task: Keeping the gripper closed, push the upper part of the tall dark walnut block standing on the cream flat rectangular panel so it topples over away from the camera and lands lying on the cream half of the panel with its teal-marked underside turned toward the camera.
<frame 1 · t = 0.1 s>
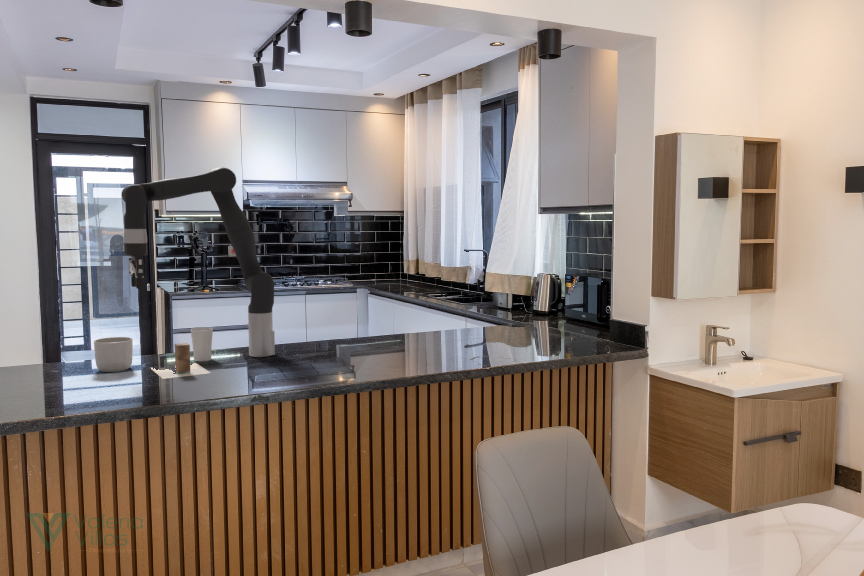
hand: (137, 287, 236), 29 cm above the counter, fingers open, 8 cm apart
planter: (114, 370, 236), on the counter
cream flat rectangular panel: (180, 370, 236), on the counter
cup: (202, 360, 255), on the counter
walnut block: (183, 372, 232), resting on cream flat rectangular panel
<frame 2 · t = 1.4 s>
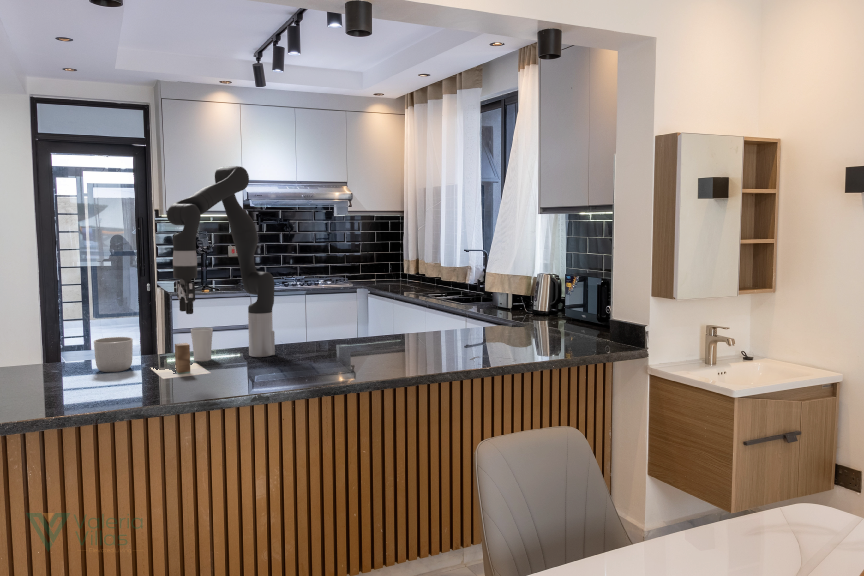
hand: (186, 312, 223), 22 cm above the counter, fingers open, 8 cm apart
nothing on the counter moved.
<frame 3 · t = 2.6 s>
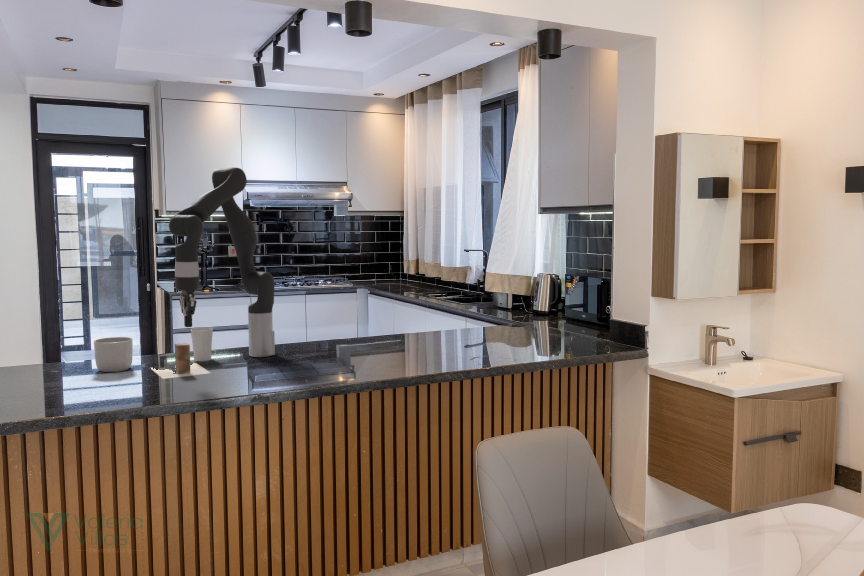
hand: (188, 326, 223), 18 cm above the counter, fingers closed
nothing on the counter moved.
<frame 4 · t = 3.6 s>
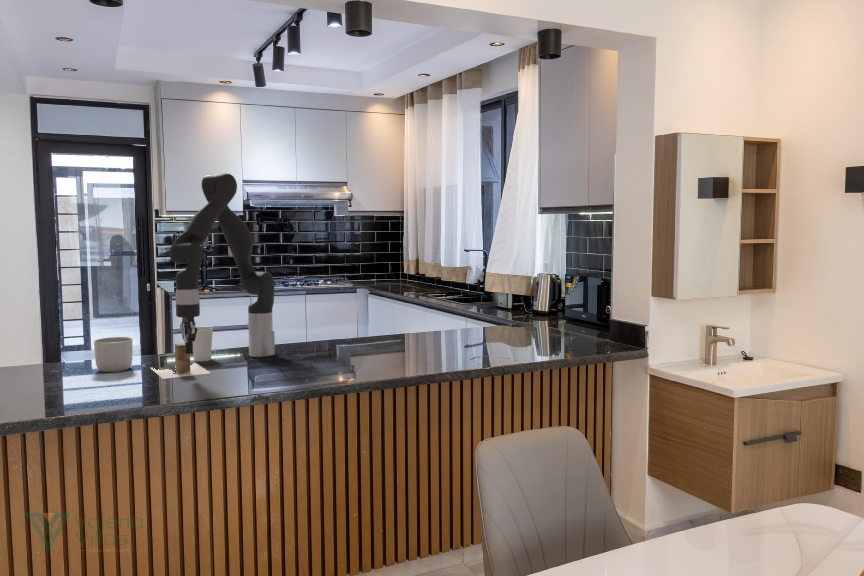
hand: (189, 353, 224), 9 cm above the counter, fingers closed
nothing on the counter moved.
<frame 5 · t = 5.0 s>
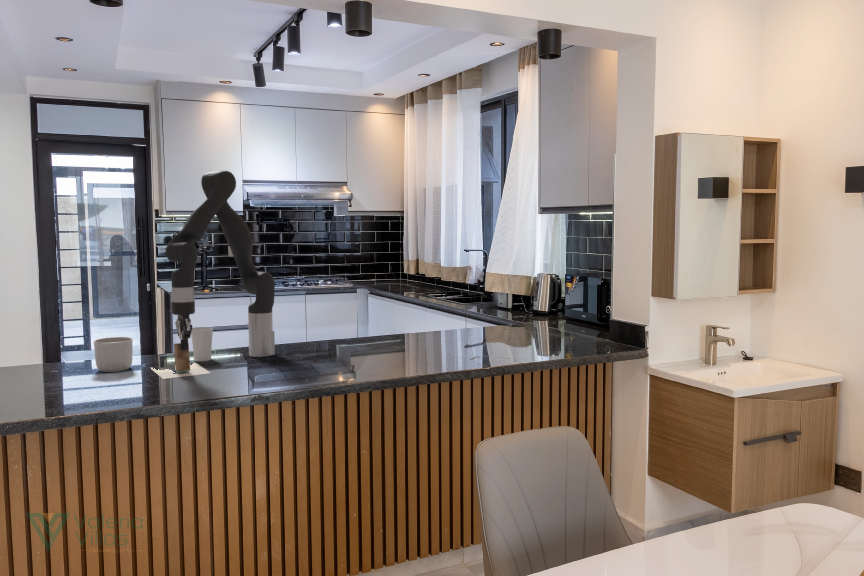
hand: (184, 349, 230), 9 cm above the counter, fingers closed
walnut block: (182, 371, 232), resting on cream flat rectangular panel, tilted 8°
everything else where it was.
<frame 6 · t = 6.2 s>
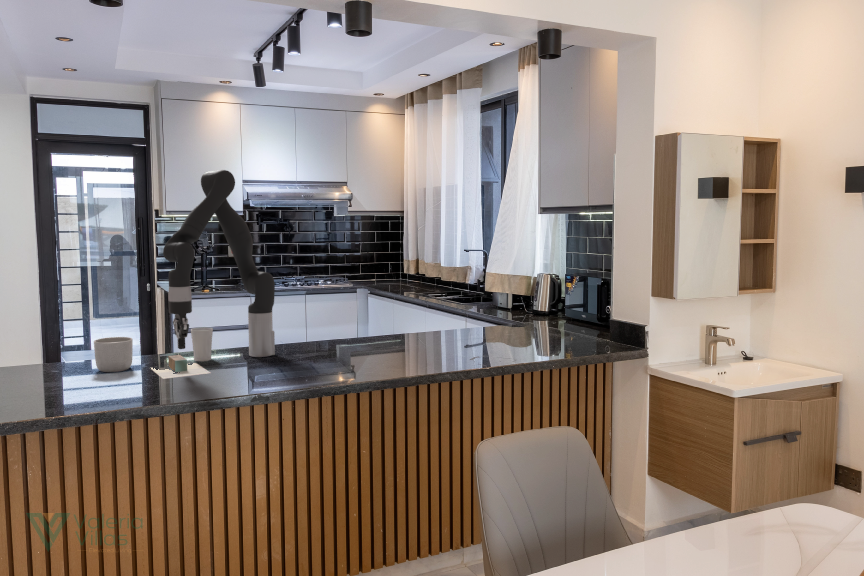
hand: (181, 348, 232), 8 cm above the counter, fingers closed
walnut block: (181, 365, 234), point 2 cm above the counter, tilted 90°, touching cream flat rectangular panel
everything else where it was.
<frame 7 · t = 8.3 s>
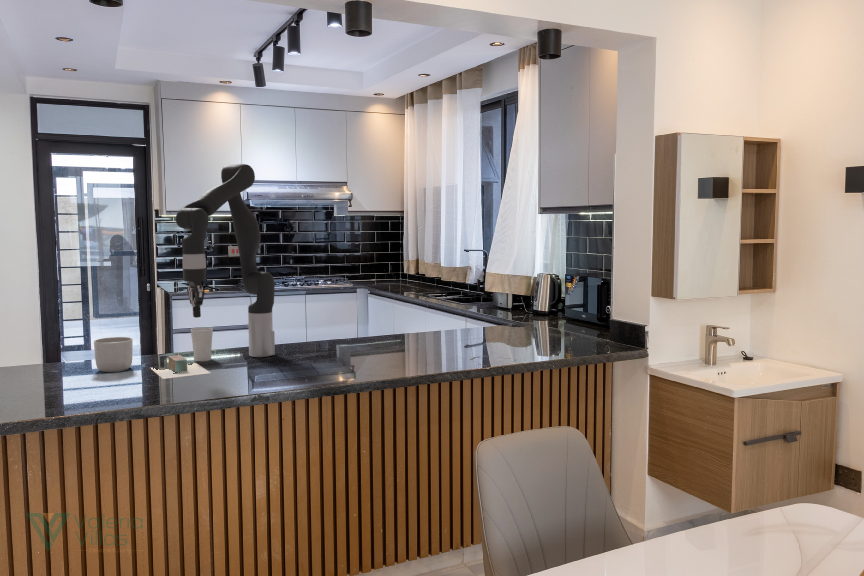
hand: (196, 317, 229), 20 cm above the counter, fingers closed
nothing on the counter moved.
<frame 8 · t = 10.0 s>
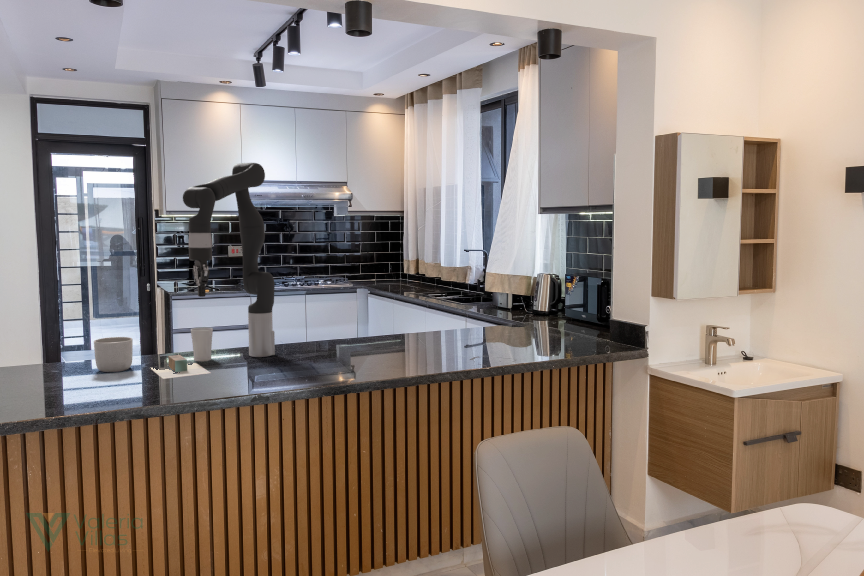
hand: (201, 296, 230), 27 cm above the counter, fingers closed
nothing on the counter moved.
at the end: walnut block tilted 90°; walnut block inside the target area (1.0 cm from its centre), point 2.2 cm above the counter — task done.
